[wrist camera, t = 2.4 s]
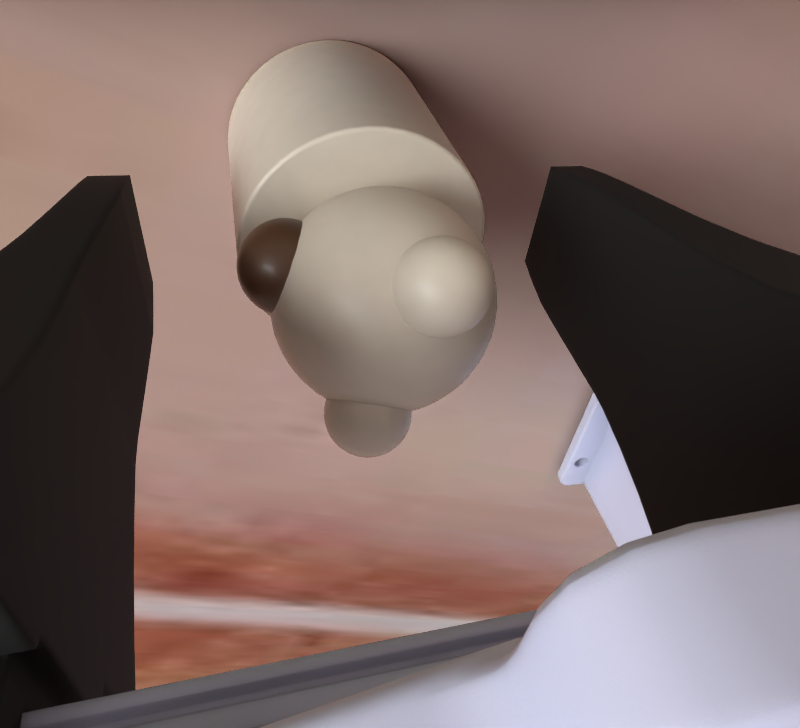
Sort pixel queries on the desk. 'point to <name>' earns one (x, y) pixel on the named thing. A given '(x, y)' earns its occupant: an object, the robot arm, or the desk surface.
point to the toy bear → (359, 237)
